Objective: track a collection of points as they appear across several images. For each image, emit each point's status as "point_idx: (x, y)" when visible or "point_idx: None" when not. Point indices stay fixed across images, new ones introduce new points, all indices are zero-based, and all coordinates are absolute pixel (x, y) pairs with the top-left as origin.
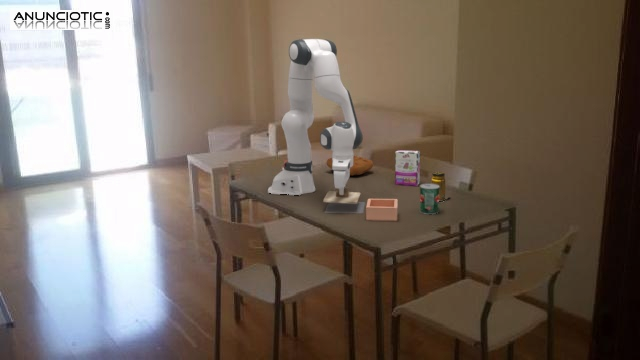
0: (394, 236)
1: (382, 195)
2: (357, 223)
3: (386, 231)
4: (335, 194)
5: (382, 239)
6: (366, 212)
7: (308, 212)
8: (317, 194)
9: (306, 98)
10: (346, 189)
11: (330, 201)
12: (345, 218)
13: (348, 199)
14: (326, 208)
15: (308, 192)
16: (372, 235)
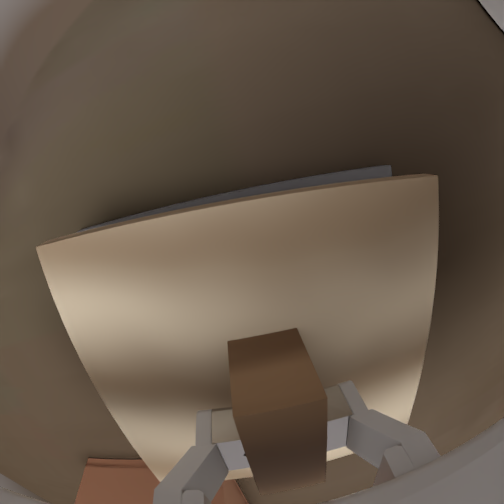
0: (40, 496)
1: (485, 389)
2: (49, 432)
3: (54, 490)
4: (319, 303)
5: (4, 473)
6: (78, 491)
7: (82, 92)
8: (499, 63)
9: None
10: (258, 486)
11: (68, 320)
12: (71, 383)
13: (188, 445)
14: (182, 208)
15: (493, 14)
16: (4, 460)
